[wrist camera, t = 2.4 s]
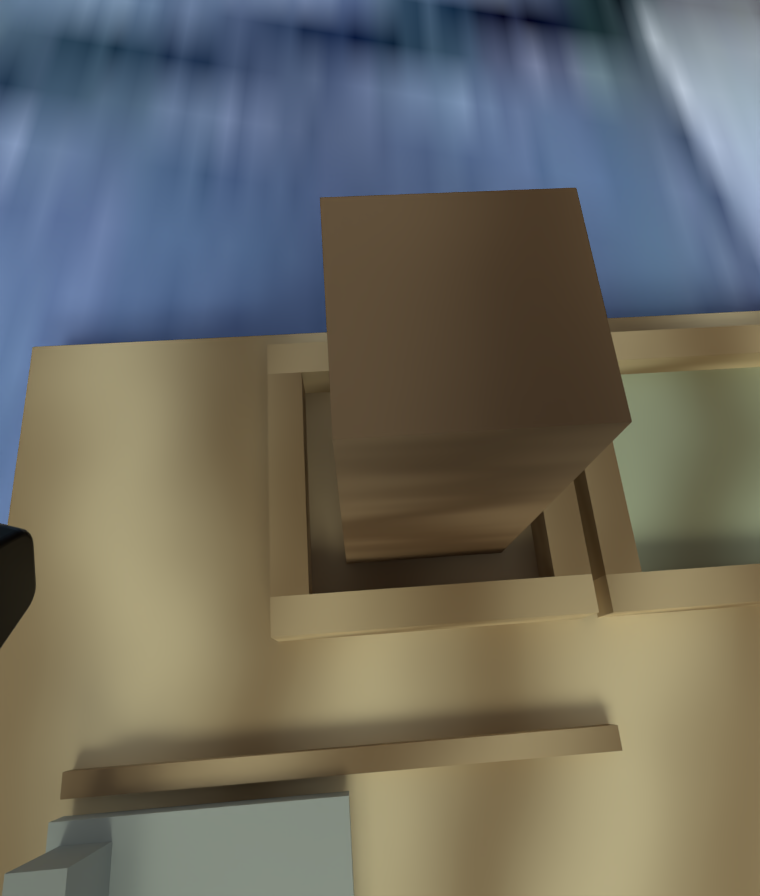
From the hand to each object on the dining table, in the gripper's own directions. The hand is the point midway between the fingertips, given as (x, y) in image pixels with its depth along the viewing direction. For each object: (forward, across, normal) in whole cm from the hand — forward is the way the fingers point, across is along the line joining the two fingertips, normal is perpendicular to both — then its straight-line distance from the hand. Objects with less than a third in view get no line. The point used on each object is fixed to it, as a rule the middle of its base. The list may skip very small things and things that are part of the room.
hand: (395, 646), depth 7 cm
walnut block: (+11, 0, +4) cm, 12 cm away
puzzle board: (+9, -3, +8) cm, 12 cm away
